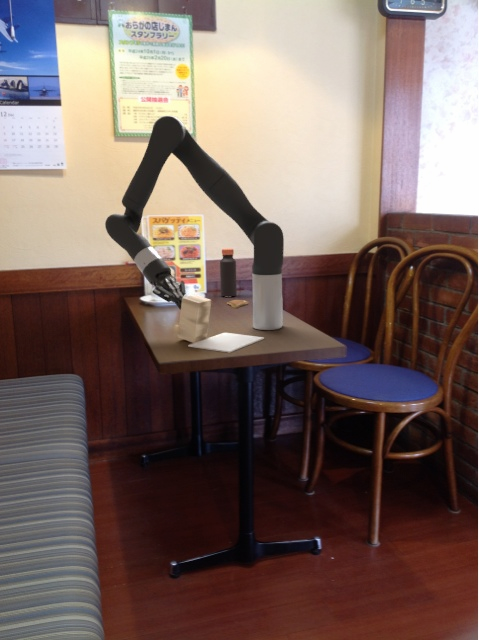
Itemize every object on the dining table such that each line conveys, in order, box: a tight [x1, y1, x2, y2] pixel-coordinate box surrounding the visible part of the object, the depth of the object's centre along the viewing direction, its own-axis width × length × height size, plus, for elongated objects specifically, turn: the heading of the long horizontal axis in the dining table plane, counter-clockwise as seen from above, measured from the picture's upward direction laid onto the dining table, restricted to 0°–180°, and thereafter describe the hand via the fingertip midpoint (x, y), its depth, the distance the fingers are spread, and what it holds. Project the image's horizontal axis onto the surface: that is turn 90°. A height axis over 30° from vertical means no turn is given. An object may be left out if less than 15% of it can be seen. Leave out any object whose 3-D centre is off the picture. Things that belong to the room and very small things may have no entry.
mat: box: [187, 332, 265, 354], centre depth 162 cm, size 18×14×1 cm
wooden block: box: [177, 294, 212, 344], centre depth 165 cm, size 6×6×12 cm
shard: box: [226, 299, 250, 309], centre depth 222 cm, size 11×8×2 cm
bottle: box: [219, 248, 238, 297], centre depth 242 cm, size 7×7×20 cm
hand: (186, 309), depth 166 cm, fingers closed
